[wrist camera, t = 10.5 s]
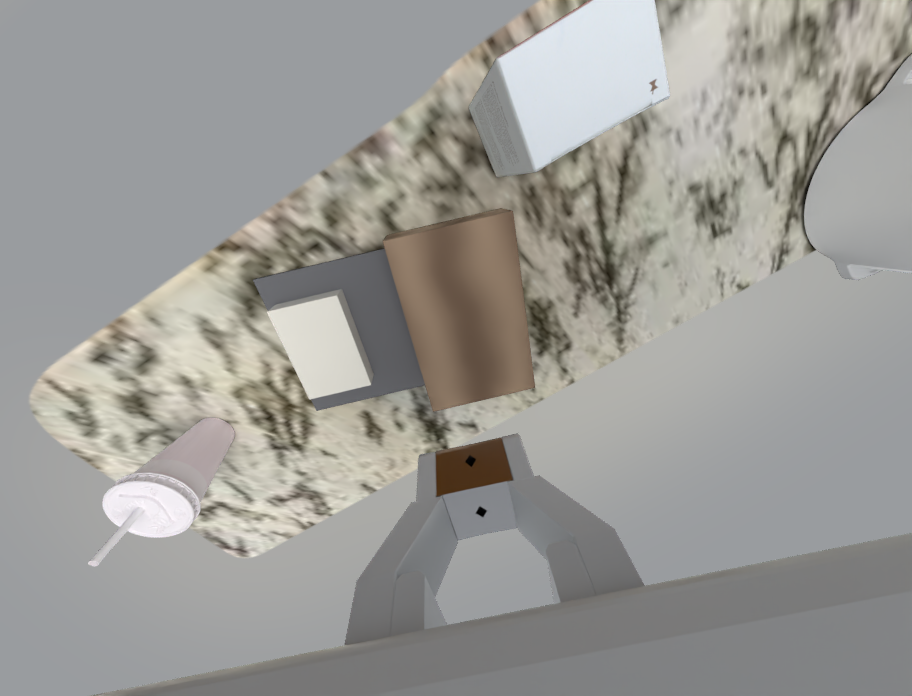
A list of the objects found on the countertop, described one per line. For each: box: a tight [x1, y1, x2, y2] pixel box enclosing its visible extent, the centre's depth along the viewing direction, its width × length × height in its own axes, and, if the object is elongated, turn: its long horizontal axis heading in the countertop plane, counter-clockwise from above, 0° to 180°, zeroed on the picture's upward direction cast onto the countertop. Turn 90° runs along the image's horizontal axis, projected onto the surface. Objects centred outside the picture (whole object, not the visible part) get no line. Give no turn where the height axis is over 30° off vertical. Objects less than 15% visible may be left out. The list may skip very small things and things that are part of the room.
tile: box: [267, 289, 374, 399], centre depth 31 cm, size 6×9×2 cm, turn 12°
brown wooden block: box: [383, 208, 535, 412], centre depth 30 cm, size 10×16×4 cm, turn 12°
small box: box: [469, 0, 670, 177], centre depth 21 cm, size 8×6×10 cm
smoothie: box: [88, 418, 235, 566], centre depth 29 cm, size 6×6×14 cm
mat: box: [253, 248, 425, 411], centre depth 32 cm, size 12×14×1 cm
